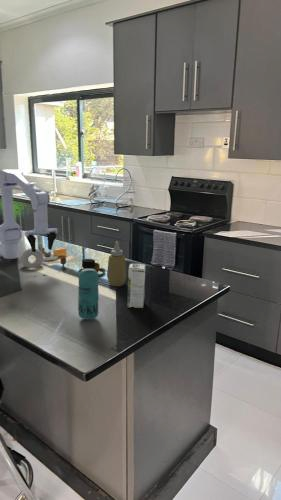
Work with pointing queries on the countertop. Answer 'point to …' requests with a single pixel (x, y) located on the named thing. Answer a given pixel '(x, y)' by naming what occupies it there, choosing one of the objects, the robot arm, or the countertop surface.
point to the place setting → (97, 268)
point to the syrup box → (136, 285)
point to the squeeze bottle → (116, 267)
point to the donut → (29, 252)
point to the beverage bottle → (88, 290)
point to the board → (57, 261)
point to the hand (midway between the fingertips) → (42, 250)
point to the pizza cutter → (54, 254)
